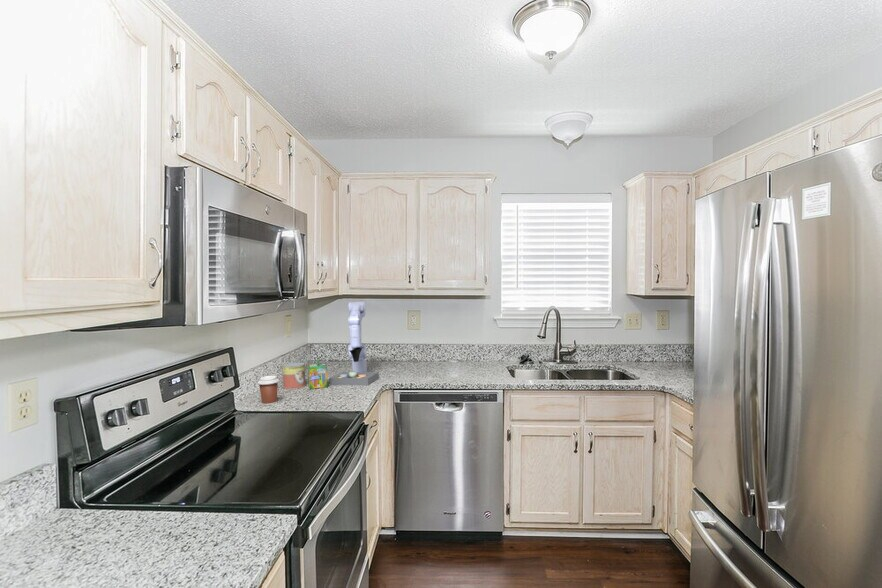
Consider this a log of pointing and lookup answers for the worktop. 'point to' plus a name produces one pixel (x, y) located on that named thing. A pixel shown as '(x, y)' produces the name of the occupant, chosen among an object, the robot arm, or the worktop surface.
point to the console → (354, 379)
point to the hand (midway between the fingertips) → (356, 361)
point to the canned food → (294, 375)
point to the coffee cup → (268, 389)
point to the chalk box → (317, 375)
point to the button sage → (352, 374)
